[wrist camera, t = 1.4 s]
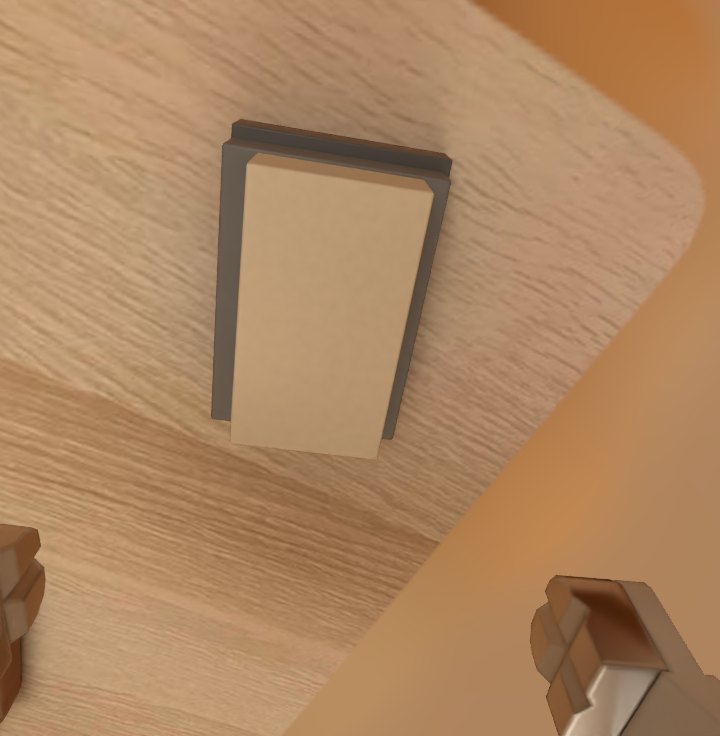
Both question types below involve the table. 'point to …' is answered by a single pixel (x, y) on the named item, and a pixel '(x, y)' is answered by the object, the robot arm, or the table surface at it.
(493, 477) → the table surface
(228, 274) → the grey books
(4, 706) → the plant
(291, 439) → the beige block
